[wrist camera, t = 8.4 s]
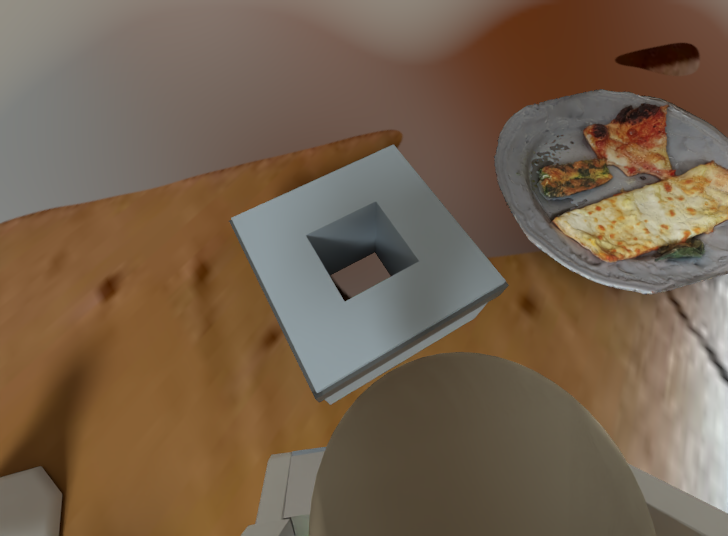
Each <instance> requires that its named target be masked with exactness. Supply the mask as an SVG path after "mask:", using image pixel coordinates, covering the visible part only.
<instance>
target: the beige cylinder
mask: <svg viewBox="0 0 728 536" xmlns="http://www.w3.org/2000/svg"><path fill="white" fill-rule="evenodd" d="M309 536H656V532H655V528H654V524H653V521H652V518H651V515H650V512H649V509H648V507H647V504H646V501H645V498H644V496H643V493H642V491H641V489H640V487H639V485H638V483H637V481H636V478H635V476H634V474H633V472H632V470H631V469H630V467H629V465H628V464H627V462H626V460H625V458H624V457H623V455H622V453H621V452H620V450H619V448H618V447H617V446H616V444H615V443H614V442H613V440H612V439H611V438H610V436H609V435H608V433H607V432H606V431H605V429H604V428H603V427H602V426H601V425H600V424H599V423H598V421H597V420H596V419H595V418H594V417H593V416H592V415H591V414H590V412H589V411H588V410H587V409H585V408H584V407H583V406H582V405H581V404H580V403H579V402H578V401H577V400H576V399H575V398H573V397H572V396H571V395H570V394H569V393H567V392H566V391H565V390H563V389H562V388H561V387H559V386H558V385H557V384H555V383H554V382H552V381H551V380H549V379H547V378H546V377H544V376H542V375H540V374H539V373H537V372H535V371H533V370H531V369H529V368H527V367H524V366H522V365H520V364H518V363H515V362H512V361H509V360H506V359H502V358H499V357H496V356H490V355H485V354H479V353H464V352H456V353H443V354H437V355H432V356H427V357H423V358H420V359H417V360H414V361H412V362H409V363H406V364H404V365H402V366H400V367H398V368H396V369H394V370H392V371H391V372H389V373H387V374H386V375H384V376H383V377H382V378H380V379H379V380H377V381H376V382H375V383H373V384H372V385H371V386H370V387H369V388H368V389H367V390H366V391H365V392H364V393H363V394H361V395H360V396H359V397H358V398H357V400H356V401H355V402H354V403H353V405H352V406H351V407H350V408H349V409H348V411H347V412H346V413H345V415H344V416H343V418H342V419H341V421H340V423H339V424H338V426H337V427H336V429H335V431H334V432H333V435H332V437H331V439H330V441H329V443H328V445H327V447H326V449H325V451H324V454H323V457H322V460H321V463H320V466H319V469H318V472H317V476H316V480H315V485H314V490H313V494H312V499H311V509H310V519H309Z"/></svg>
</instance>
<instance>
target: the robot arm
mask: <svg viewBox="0 0 728 536" xmlns="http://www.w3.org/2000/svg"><path fill="white" fill-rule="evenodd" d="M325 449H326V447H322V448H315V449H307V450H300V451H293V452H289V453H282V454H274V455H271V457H270V459H269V460H268V464H267V469H266V474H265V479H264V484H263V489H262V494H261V499H260V504H259V509H258V514H257V518H256V523H255V524H254V525H249V526H248V527H247V528H246V529H245V531H244V532H243V533H242V534H241V536H309V519H310V509H311V499H312V494H313V490H314V485H315V480H316V476H317V472H318V469H319V466H320V463H321V460H322V457H323V454H324V451H325ZM627 464H628V463H627ZM628 465H629V467H630V469H631V470H632V472H633V474H634V476H635V478H636V481H637V483H638V485H639V487H640V489H641V491H642V493H643V496H644V498H645V501H646V504H647V507H648V509H649V512H650V515H651V518H652V521H653V524H654V528H655V532H656V536H728V514H727V513H726V512H724V511H722V510H720V509H718V508H716V507H714V506H712V505H710V504H708V503H706V502H704V501H702V500H700V499H698V498H696V497H694V496H692V495H690V494H688V493H686V492H684V491H682V490H680V489H678V488H676V487H674V486H672V485H670V484H668V483H666V482H664V481H662V480H660V479H658V478H656V477H654V476H652V475H650V474H648V473H646V472H644V471H642V470H640V469H638V468H636V467H634V466H632V465H630V464H628Z"/></svg>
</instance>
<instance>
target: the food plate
mask: <svg viewBox="0 0 728 536" xmlns="http://www.w3.org/2000/svg"><path fill="white" fill-rule="evenodd" d="M494 158H495V168H496V175H497V180H498V184H499V186H500V190H501V191H502V194H503V196H504V198H505V201H506V202H508V205H509V208H510V210H511V211H512V212H511V213H513V216H514V217H515V219H516V220H517V223H519V224H520V227H521V228H522V230H523V232H524V234H525V235H526V236H527V238H528V239H529V240H530V241H531V242H532V243H533V244H534V245H536V246H537V247H539V249H540V250H542V251H543V252H544V253H548V255H549V256H550V257H551V258H554V260H556V261H558V262H559V263H560V264H562V265H563V266H564V267H567V268H568V269H569V270H571V271H573V272H576V273H577V274H579V275H581V276H582V277H587V279H589V280H593V281H595V282H597V283H600V284H604V285H607V286H609V287H612V286H613V287H615V288H616V289H619V288H620V289H624V290H627V291H634V292H640V293H643V294H652V293H656V291H657V292H659V293H661V291H662V292H665V291H668V290H672V289H675V288H678V287H683V286H685V285H690V284H694V283H697V282H701V281H705V280H707V279H711V278H714V277H718V276H721V275H725V274H728V138H727V137H726V136H725V135H723V134H722V133H721V132H720V131H719V130H717V129H716V128H715V127H714V126H712V125H711V124H709V123H708V122H706V121H705V120H703V119H701V118H698V117H697V116H695V115H693V114H691V113H690V112H687V111H686V110H684V109H682V108H680V107H677V106H676V105H674V104H672V103H670V102H667V101H666V100H663V99H660V98H655V97H650V96H648V97H647V96H639V95H635V94H633V93H630V92H613V91H607V90H602V89H600V90H594V91H590V92H583V93H581V94H575V95H571V96H565V97H561V98H559V99H554V100H548V101H544V102H541V103H540V104H539V105H538V104H534V105H529V106H526V107H524V108H523V109H521V110H520V111H518V112H517V113H515V114H514V115H513V116H512V117H511V118H510V119H509V120H508V121H507V122H506V124H505V125H504V127H503V130H502V131H501V132H500V136H499V139H498V147H497V150H496V155H495V157H494ZM663 290H664V291H663ZM652 295H653V294H652Z"/></svg>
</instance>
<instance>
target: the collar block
mask: <svg viewBox="0 0 728 536" xmlns="http://www.w3.org/2000/svg"><path fill="white" fill-rule="evenodd" d="M231 219H232V220H230V221H229V222H230V224H231V226H232V228H233V230H234V232H235V234H236V236H237V238H238V240H239V242H240V244H241V247H242V249H243V251H244V253H245V255H246V257H247V259H248V261H249V263H250V265H251V267H252V269H253V271H254V273H255V275H256V277H257V280H258V282H259V284H260V286H261V288H262V290H263V292H264V294H265V296H266V298H267V300H268V302H269V304H270V306H271V308H272V310H273V313H274V315H275V317H276V319H277V321H278V323H279V325H280V327H281V329H282V331H283V333H284V335H285V337H286V339H287V341H288V343H289V346H290V348H291V350H292V352H293V354H294V356H295V358H296V360H297V362H298V364H299V366H300V368H301V370H302V372H303V374H304V376H305V379H306V381H307V383H308V385H309V387H310V389H311V391H312V393H313V395H314V397H315V399H316V400H317V401H318V402H321V401H323V400H324V399H325V400H326V401H327V402H328V403H329V404H330V405H331V404H332V403H334V402H336V401H337V400H339V399H341V398H342V397H344V396H346V395H347V394H349V393H351V392H352V391H354V390H356V389H357V388H359V387H361V386H362V385H364V384H366V383H367V382H369V381H371V380H372V379H374V378H376V377H377V376H379V375H381V374H382V373H384V372H386V371H387V370H389V369H391V368H392V367H394V366H396V365H397V364H399V363H401V362H402V361H404V360H406V359H407V358H409V357H411V356H412V355H414V354H416V353H417V352H419V351H421V350H422V349H424V348H426V347H427V346H429V345H431V344H432V343H434V342H436V341H437V340H439V339H441V338H442V337H444V336H446V335H447V334H449V333H451V332H452V331H454V330H456V329H457V328H459V327H461V326H462V325H464V324H466V323H467V322H469V321H471V320H472V319H474V318H475V317H476V316H477V315H478V313H479V312H480V311H481V310H482V309H483V307H484V306H485V305H486V304H487V303H488V302H489V301H491V300H492V299H494V298H496V297H497V296H499V295H500V294H501V293H502V292H503V291H504V290H505V289H506V288H507V287H508V284H507V283H506V281H505V279H504V278H503V277H502V276H501V275H500V273H499V272H498V271H497V270H496V268H495V267H494V266H493V265H492V264H491V262H490V261H489V260H488V259H487V258H486V256H485V255H484V254H483V253H482V251H481V250H480V249H479V248H478V247H477V245H476V244H475V243H474V242H473V240H472V239H471V238H470V237H469V236H468V234H467V233H466V232H465V231H464V230H463V228H462V227H461V226H460V225H459V223H458V222H457V221H456V220H455V219H454V217H453V216H452V215H451V214H450V212H449V211H448V210H447V209H446V208H445V207H444V205H443V204H442V203H441V202H440V200H439V199H438V198H437V197H436V195H435V194H434V193H433V192H432V191H431V189H430V188H429V187H428V186H427V185H426V183H425V182H424V181H423V180H422V178H421V177H420V176H419V175H418V174H417V172H416V171H415V170H414V169H413V167H412V166H411V165H410V164H409V163H408V161H407V160H406V159H405V158H404V157H403V155H402V154H401V153H400V152H399V150H398V149H397V148H396V147H395V145H394V144H393V145H391V146H389V147H387V148H385V149H382V150H380V151H378V152H376V153H374V154H371V155H369V156H367V157H365V158H363V159H360V160H358V161H356V162H354V163H352V164H349V165H347V166H345V167H343V168H341V169H338V170H336V171H334V172H332V173H330V174H327V175H325V176H323V177H321V178H318V179H316V180H314V181H312V182H310V183H307V184H305V185H303V186H301V187H299V188H296V189H294V190H292V191H290V192H288V193H285V194H283V195H281V196H279V197H277V198H274V199H272V200H270V201H268V202H266V203H263V204H261V205H259V206H257V207H255V208H252V209H250V210H248V211H246V212H243V213H241V214H239V215H237V216H235V217H232V218H231ZM374 252H375V253H376V254H377V256H378V257H379V259H380V260H381V262H382V263H383V265H384V266H385V268H386V269H387V271H388V272H389V274H390V275H391V277H389V278H387V279H386V280H384V281H382V282H380V283H378V284H376V285H375V286H373V287H371V288H369V289H367V290H365V291H363V292H362V293H360V294H358V295H356V296H354V297H352V298H350V299H348V300H347V301H344V300H343V298H342V296H341V295H340V293H339V291H338V289H337V288H336V286H335V284H334V283H333V281H332V279H331V277H330V275H332V274H334V273H336V272H338V271H339V270H341V269H343V268H345V267H347V266H349V265H351V264H353V263H355V262H357V261H359V260H361V259H363V258H365V257H366V256H368V255H370V254H372V253H374Z"/></svg>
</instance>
